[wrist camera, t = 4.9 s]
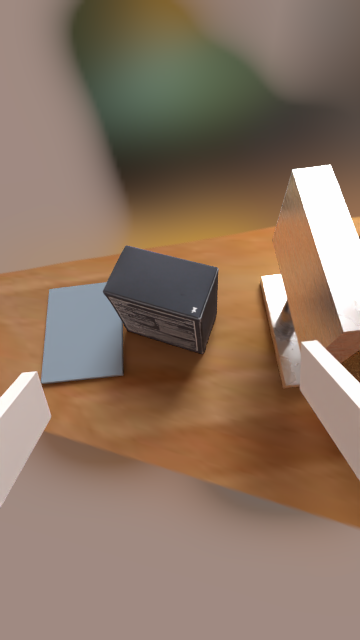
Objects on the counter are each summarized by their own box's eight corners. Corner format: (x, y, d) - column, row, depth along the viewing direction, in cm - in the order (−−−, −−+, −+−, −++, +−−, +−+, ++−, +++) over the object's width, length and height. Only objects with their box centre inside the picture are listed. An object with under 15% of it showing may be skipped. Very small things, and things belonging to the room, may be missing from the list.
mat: (122, 282, 44) (120, 280, 43) (123, 375, 39) (122, 374, 38) (51, 291, 44) (49, 289, 44) (43, 384, 39) (40, 382, 38)
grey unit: (287, 279, 42) (337, 164, 25) (314, 385, 36) (401, 325, 20) (260, 282, 42) (292, 170, 25) (282, 388, 36) (343, 331, 20)
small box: (219, 309, 41) (222, 264, 31) (203, 356, 39) (201, 322, 29) (144, 289, 43) (125, 241, 34) (125, 331, 41) (99, 293, 31)
